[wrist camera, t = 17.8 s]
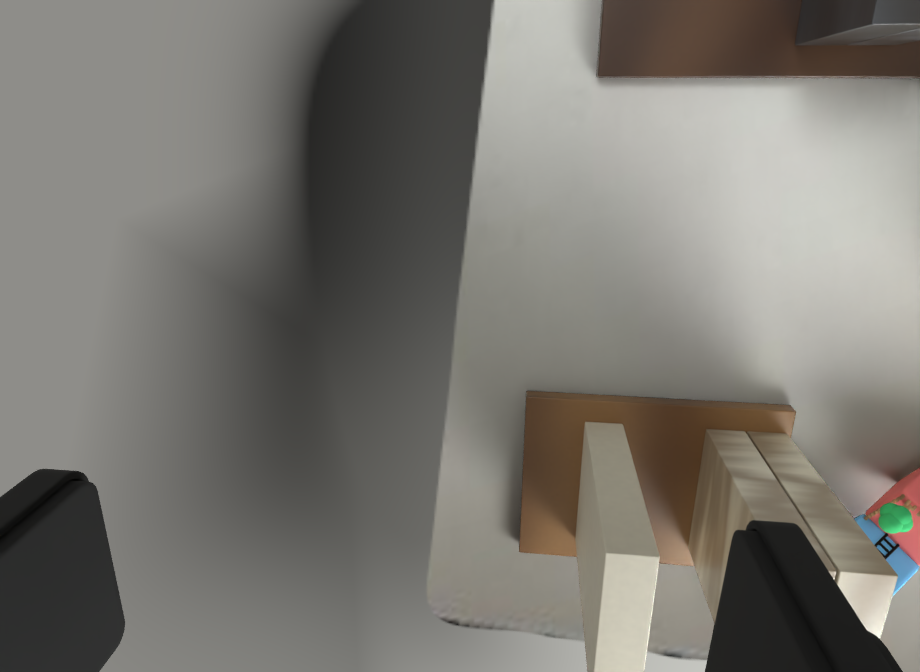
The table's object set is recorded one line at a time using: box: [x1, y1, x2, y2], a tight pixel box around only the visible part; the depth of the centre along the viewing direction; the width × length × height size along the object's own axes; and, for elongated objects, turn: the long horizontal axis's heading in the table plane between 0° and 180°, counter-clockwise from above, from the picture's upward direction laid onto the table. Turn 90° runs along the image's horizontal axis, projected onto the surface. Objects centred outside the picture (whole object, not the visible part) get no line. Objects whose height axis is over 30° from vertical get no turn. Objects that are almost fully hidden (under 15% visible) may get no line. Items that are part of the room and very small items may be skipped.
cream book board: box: [519, 391, 898, 639], centre depth 36 cm, size 16×12×14 cm
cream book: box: [575, 422, 660, 672], centre depth 36 cm, size 2×9×13 cm, turn 0°
